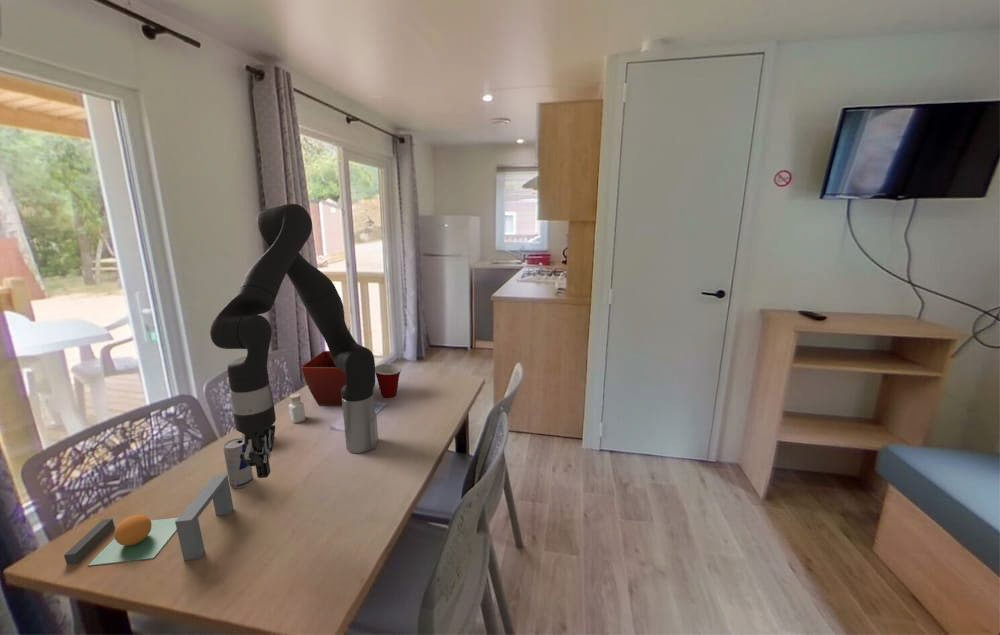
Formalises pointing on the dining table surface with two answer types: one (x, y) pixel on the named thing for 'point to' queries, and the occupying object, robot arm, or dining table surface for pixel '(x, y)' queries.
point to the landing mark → (139, 545)
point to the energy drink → (237, 464)
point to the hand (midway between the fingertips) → (264, 475)
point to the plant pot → (324, 379)
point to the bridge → (189, 518)
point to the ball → (133, 530)
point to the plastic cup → (388, 379)
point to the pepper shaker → (296, 409)
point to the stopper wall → (89, 542)
